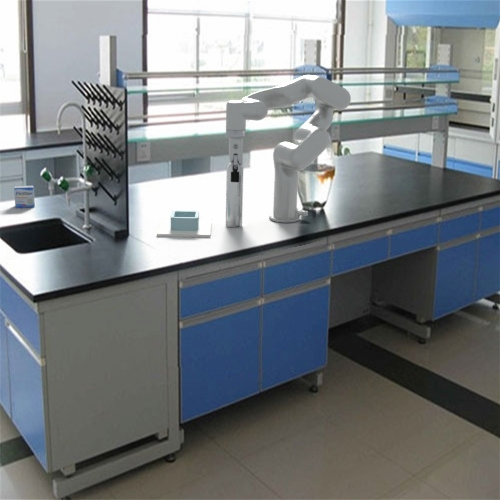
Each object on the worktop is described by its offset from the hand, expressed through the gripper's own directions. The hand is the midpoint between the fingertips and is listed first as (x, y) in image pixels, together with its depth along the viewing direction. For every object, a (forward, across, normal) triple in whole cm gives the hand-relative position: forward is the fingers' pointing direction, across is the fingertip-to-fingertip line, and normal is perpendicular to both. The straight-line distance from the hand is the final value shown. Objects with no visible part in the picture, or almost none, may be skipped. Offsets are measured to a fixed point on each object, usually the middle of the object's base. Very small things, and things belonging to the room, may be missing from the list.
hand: (234, 179), depth 280 cm
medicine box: (+19, +24, +88) cm, 93 cm away
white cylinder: (+19, 0, 0) cm, 19 cm away
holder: (+19, -6, +19) cm, 27 cm away
